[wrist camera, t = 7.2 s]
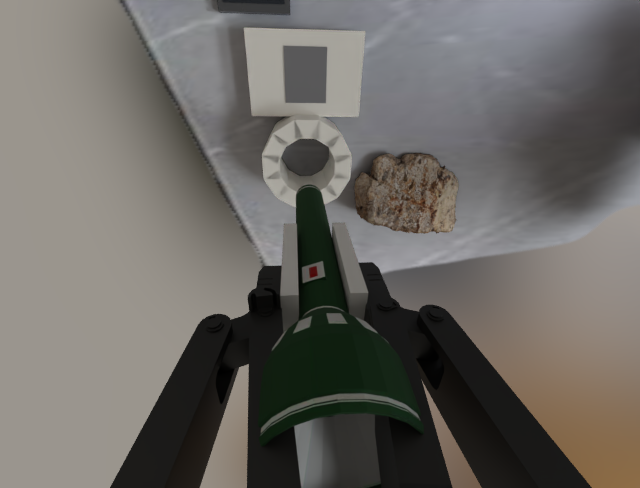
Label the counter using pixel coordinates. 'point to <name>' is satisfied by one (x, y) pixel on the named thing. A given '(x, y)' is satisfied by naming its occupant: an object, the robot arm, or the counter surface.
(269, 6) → the phone
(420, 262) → the counter surface
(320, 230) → the flashlight
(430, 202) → the rock
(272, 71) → the block
